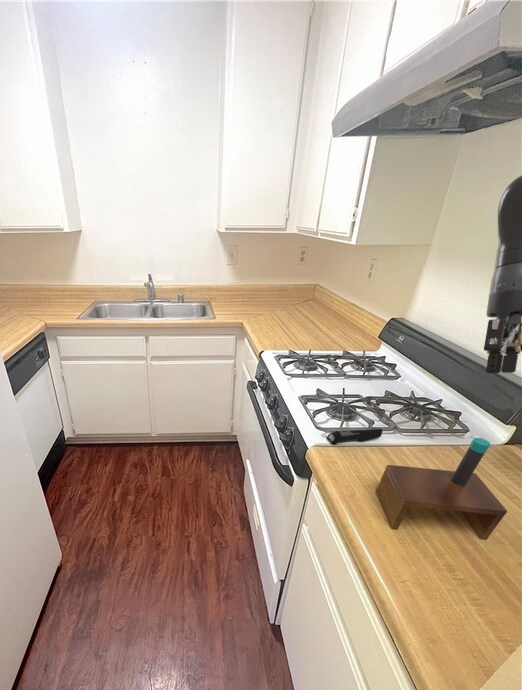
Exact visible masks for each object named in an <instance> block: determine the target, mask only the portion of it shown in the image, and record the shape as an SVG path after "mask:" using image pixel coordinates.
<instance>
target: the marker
mask: <svg viewBox="0 0 522 690" xmlns="http://www.w3.org/2000/svg"><path fill="white" fill-rule="evenodd" d="M490 446H491V442H490V441H489V440H487V439H485V438H482V437H474V438H472V440H471V442H470V443H469V446H468V448H467V450H466V451H465V453H464V455H463V457H462V458H461V460H460V462H459V464H458V466H457V468H456V469H455V470H454V471H455V473H454V474H453V476H452V478H451V480H452V482H454V483H455V484H457V485H460V486H464V485H466V483H467V482H468V480H469V479H470V477H471V475H472V474H473V473H475V471H476V469H477V467H478V466H479V464H480V462H481V460H482V459H483V457H484V455H485V454H486V453H487V452H488V450H489V448H490Z"/></svg>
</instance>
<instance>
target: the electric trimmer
mask: <svg viewBox="0 0 522 690" xmlns="http://www.w3.org/2000/svg"><path fill="white" fill-rule="evenodd" d="M382 435H383V429H382V428H371V429H370V428H369V429H355V430H354V429H353V430H352V429H351V430H335V431H332V432H330V433H329V434H328V435H326V441H327V442H328V443H329V444H330V443H331V444H330V445H337V444H338V443H342V442H351V441H358V442H364V441H370V440H374V439H378V438H381V437H382Z"/></svg>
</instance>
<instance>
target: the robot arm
mask: <svg viewBox="0 0 522 690" xmlns="http://www.w3.org/2000/svg"><path fill="white" fill-rule="evenodd" d="M497 239H498V241H497V242H498V245H497V250H496V253H495V254H496V256H495V260H494V261H495V262H494V268H493V269H494V270H493V273H492V277H491V280H490V284H489V285H490V287H489V293H488V299H487V306H486V313H485V315H486V317H487V318H493V319H488V321H487V327H486V333H485V340H484V344H483V351H484V352H485V351H486V354H487V361H486V362H487V363H486V369H485V372H486V374H500V373H503V374H505V373H506V374H507V373H508V374H509V373H510V374H512V373H515V372H516V370H517V364H518V359H519V355H520V354H521V352H522V174H521V175H519V176H518V177H516V178H514V180H512V181H511V182H510V183H509V184H508V185H507V186H506V187H505V189H504V190H503V192H502V194H501V196H500V199H499V202H498V207H497Z"/></svg>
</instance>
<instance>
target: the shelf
mask: <svg viewBox="0 0 522 690" xmlns="http://www.w3.org/2000/svg"><path fill="white" fill-rule="evenodd" d="M455 471H456V470H448V469H447V470H445V469H435V468H427V467H425V468H424V467H415V466H404V465H394V464H386V467H385V469H384V471H383V474H382V476H381V478H380V480H379V483H378V485H377V488H376V490H375V494H376V496H377V498H378V501H379V503H380V505H381V507H382V510H383V512H384V514H385V517H386V519H387V522H388V524H389V526H390V527H391V528H390V529H391V530H399V528H400V526H401V524H402V522H403V520H404V518H405V516H406V515H407V512H408V510H409V508H410V507H411V506H412V507H419V508H420V507H421V508H428V509H429V508H430V509H438V510H449V511H455V512H456V511H457V512H461V514H462V515H463V516H464V517H465V519H466V521H467V522H468V523H469V525H470V526H471V527H472V529H473V531H474V532H475V534H476V535H477V537H478V538H479V539H480V540H484V541H487V540H488V539H489V538H490V536H491V535H492V533H493V532H494V531H495V529H496V528H497V526H498V525H499V524H500V522H501V521H502V519H504V517H505V515H507V514H508V510H507V508H506V507H505V506H504V505H503V504H502V502H500V501H499V499H498V498H497V496H495V494H494V493H493V492H492V491H491V489H490V488H489V487H488V486H487V485H486V484H485V482H484V481H483V480H482V479H481V478H480V477H479V475H478V474H477V473H476V472H473V474H472V475H471V477H470V479H469V480H468V482H467V483H466V485H464V486H460V485H457V484H455V483H454V482H452V480H451V478H452V476H453V474H454V473H455Z"/></svg>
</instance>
